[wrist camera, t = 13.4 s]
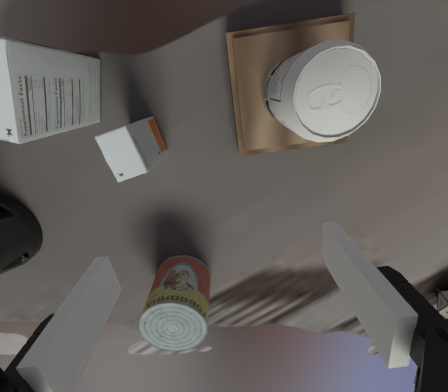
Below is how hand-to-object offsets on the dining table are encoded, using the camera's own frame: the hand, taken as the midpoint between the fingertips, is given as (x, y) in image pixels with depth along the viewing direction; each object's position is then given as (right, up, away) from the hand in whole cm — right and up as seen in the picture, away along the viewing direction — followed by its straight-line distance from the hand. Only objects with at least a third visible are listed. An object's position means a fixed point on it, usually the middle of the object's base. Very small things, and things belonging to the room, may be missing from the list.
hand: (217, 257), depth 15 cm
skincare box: (-12, +13, +25) cm, 31 cm away
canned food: (-8, -13, +37) cm, 40 cm away
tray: (+10, +19, +22) cm, 31 cm away
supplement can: (+10, +18, +19) cm, 28 cm away
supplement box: (-23, +20, +22) cm, 38 cm away
